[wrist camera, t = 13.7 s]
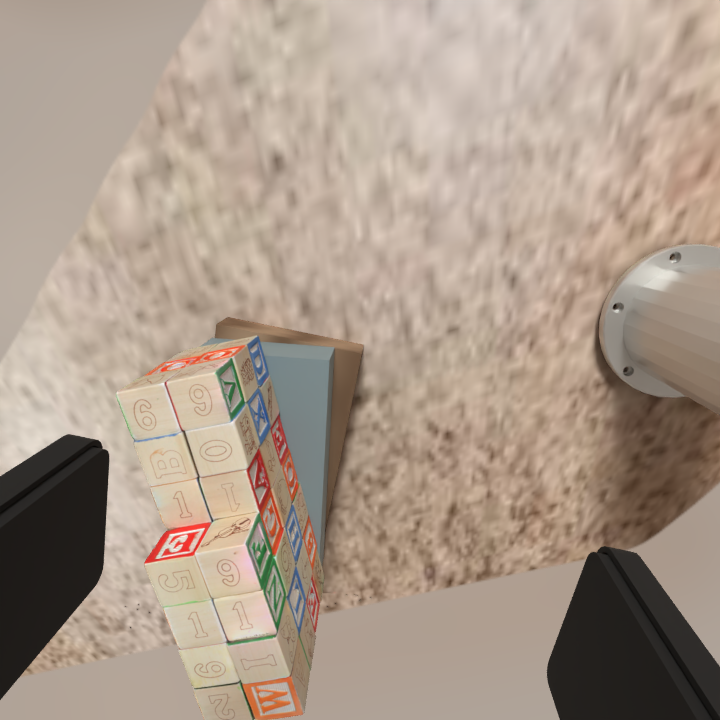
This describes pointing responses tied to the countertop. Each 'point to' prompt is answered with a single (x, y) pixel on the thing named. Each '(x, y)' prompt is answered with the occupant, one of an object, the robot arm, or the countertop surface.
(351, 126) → the countertop surface
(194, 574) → the stack of blocks
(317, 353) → the tower top slab
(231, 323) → the tower base slab
